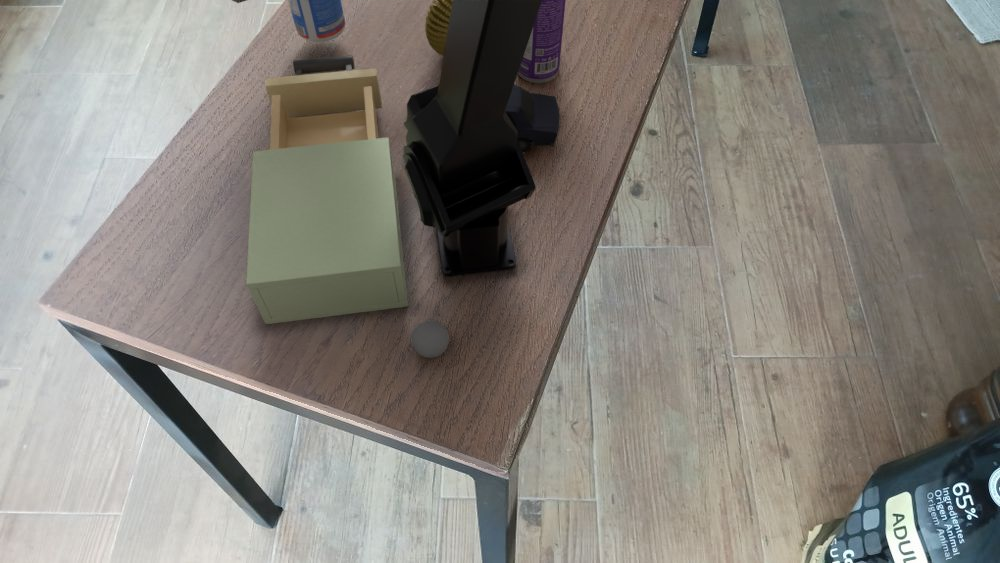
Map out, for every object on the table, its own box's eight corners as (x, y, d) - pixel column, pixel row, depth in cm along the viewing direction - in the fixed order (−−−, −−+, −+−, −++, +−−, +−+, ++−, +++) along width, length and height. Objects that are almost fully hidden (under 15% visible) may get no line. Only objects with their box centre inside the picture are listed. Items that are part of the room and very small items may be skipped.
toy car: (416, 112, 75) (412, 73, 71) (557, 114, 75) (560, 76, 71) (411, 153, 72) (406, 114, 68) (558, 155, 72) (562, 117, 68)
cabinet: (269, 195, 68) (252, 150, 64) (395, 181, 70) (388, 136, 65) (265, 324, 60) (245, 284, 56) (408, 306, 62) (400, 266, 57)
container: (562, 59, 80) (575, -73, 68) (554, 86, 78) (565, -45, 65) (521, 52, 81) (526, -80, 68) (511, 79, 78) (515, -53, 66)
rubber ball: (451, 361, 59) (449, 343, 56) (414, 366, 58) (411, 348, 56) (447, 330, 60) (445, 310, 58) (411, 334, 60) (408, 315, 57)
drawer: (276, 83, 76) (266, 50, 73) (379, 74, 77) (373, 40, 74) (273, 210, 66) (261, 179, 63) (390, 197, 67) (384, 166, 64)
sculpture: (478, 29, 83) (476, -35, 76) (499, 47, 81) (500, -18, 75) (420, 57, 80) (414, -8, 73) (442, 76, 78) (437, 12, 72)
